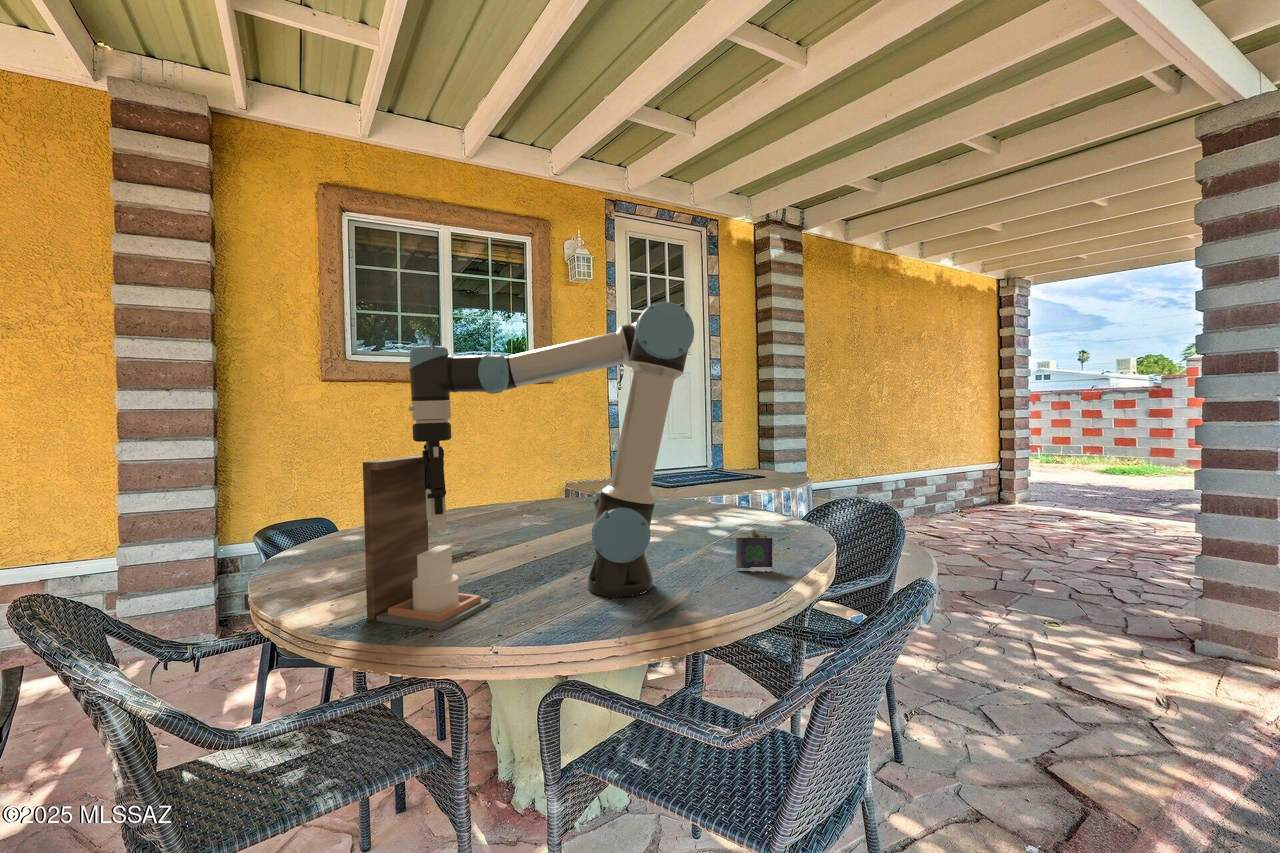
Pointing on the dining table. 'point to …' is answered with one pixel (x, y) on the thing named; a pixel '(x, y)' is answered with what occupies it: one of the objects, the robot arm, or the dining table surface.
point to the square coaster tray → (435, 621)
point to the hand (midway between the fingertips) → (436, 524)
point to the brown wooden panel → (393, 529)
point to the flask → (753, 550)
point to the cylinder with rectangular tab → (435, 581)
